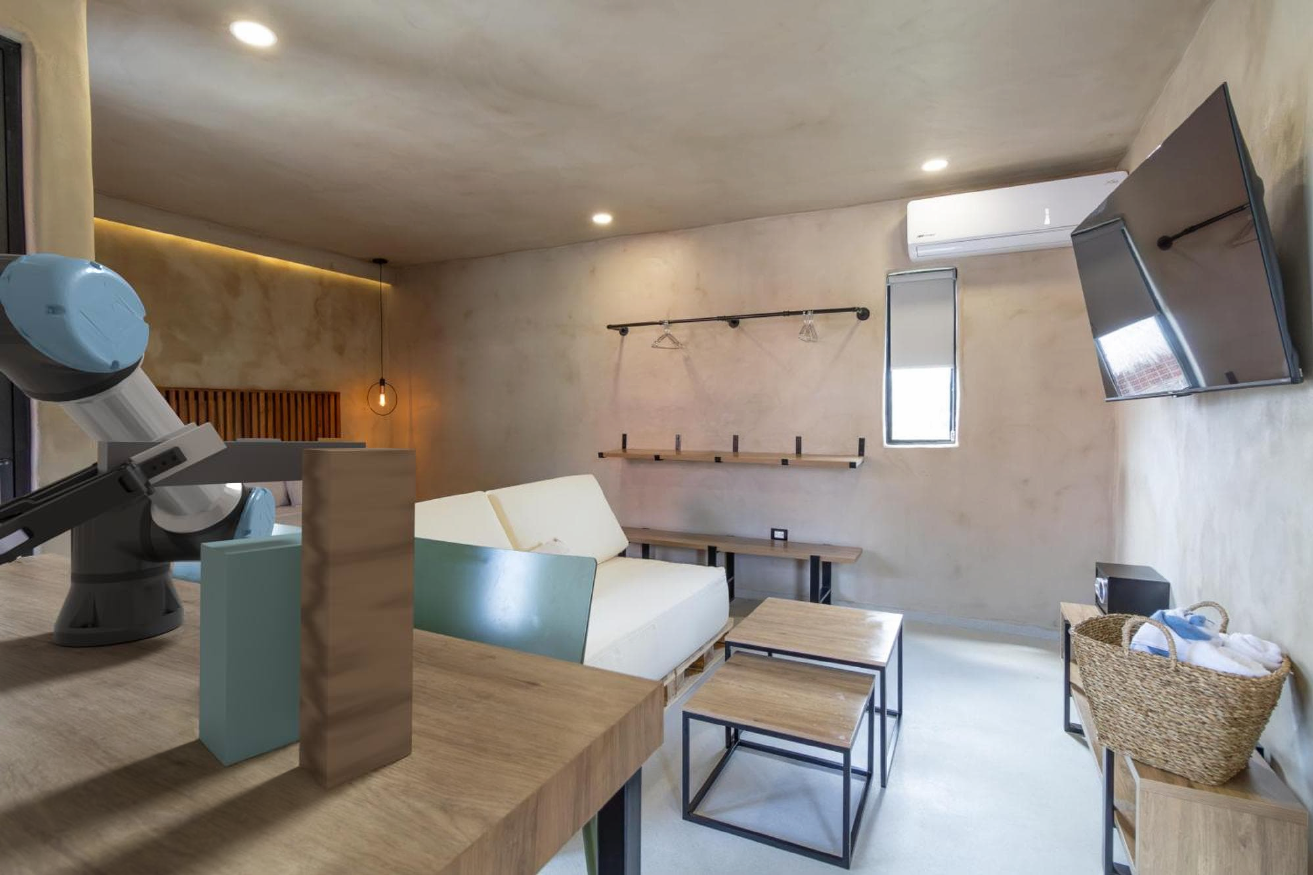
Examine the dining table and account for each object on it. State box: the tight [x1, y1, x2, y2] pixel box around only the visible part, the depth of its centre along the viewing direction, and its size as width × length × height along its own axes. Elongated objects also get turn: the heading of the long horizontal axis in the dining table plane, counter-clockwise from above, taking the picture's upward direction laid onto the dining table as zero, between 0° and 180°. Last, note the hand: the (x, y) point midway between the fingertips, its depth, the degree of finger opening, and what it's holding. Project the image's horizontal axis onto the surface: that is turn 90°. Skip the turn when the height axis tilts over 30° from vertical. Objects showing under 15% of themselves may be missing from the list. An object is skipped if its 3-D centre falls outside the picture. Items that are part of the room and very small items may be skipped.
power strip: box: [97, 437, 367, 487], centre depth 62 cm, size 4×22×4 cm, turn 141°
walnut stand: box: [298, 447, 417, 790], centre depth 59 cm, size 6×8×30 cm
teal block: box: [198, 531, 302, 767], centre depth 64 cm, size 8×10×20 cm
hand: (208, 434), depth 59 cm, fingers closed on power strip, 4 cm apart
